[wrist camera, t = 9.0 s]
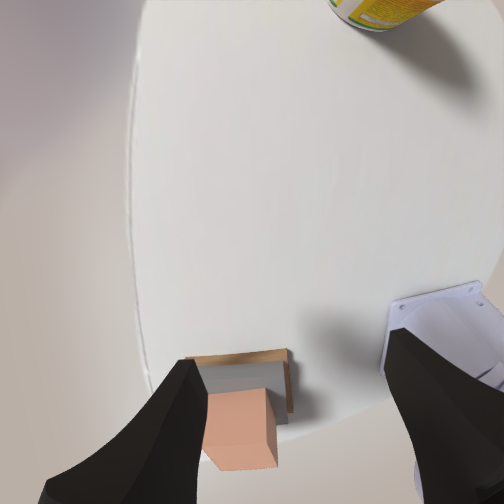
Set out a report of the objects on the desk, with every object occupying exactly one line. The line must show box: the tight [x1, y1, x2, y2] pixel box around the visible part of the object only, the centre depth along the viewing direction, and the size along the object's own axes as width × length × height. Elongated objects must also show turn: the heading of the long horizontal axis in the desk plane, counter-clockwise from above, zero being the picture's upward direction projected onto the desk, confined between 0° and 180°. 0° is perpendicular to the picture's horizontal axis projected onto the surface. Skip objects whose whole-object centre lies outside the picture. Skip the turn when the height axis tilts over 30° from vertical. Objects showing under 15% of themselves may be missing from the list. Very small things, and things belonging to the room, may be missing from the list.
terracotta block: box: [202, 388, 278, 471], centre depth 19 cm, size 4×4×5 cm
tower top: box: [197, 361, 288, 425], centre depth 22 cm, size 7×7×2 cm
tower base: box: [185, 348, 293, 413], centre depth 23 cm, size 8×8×2 cm
